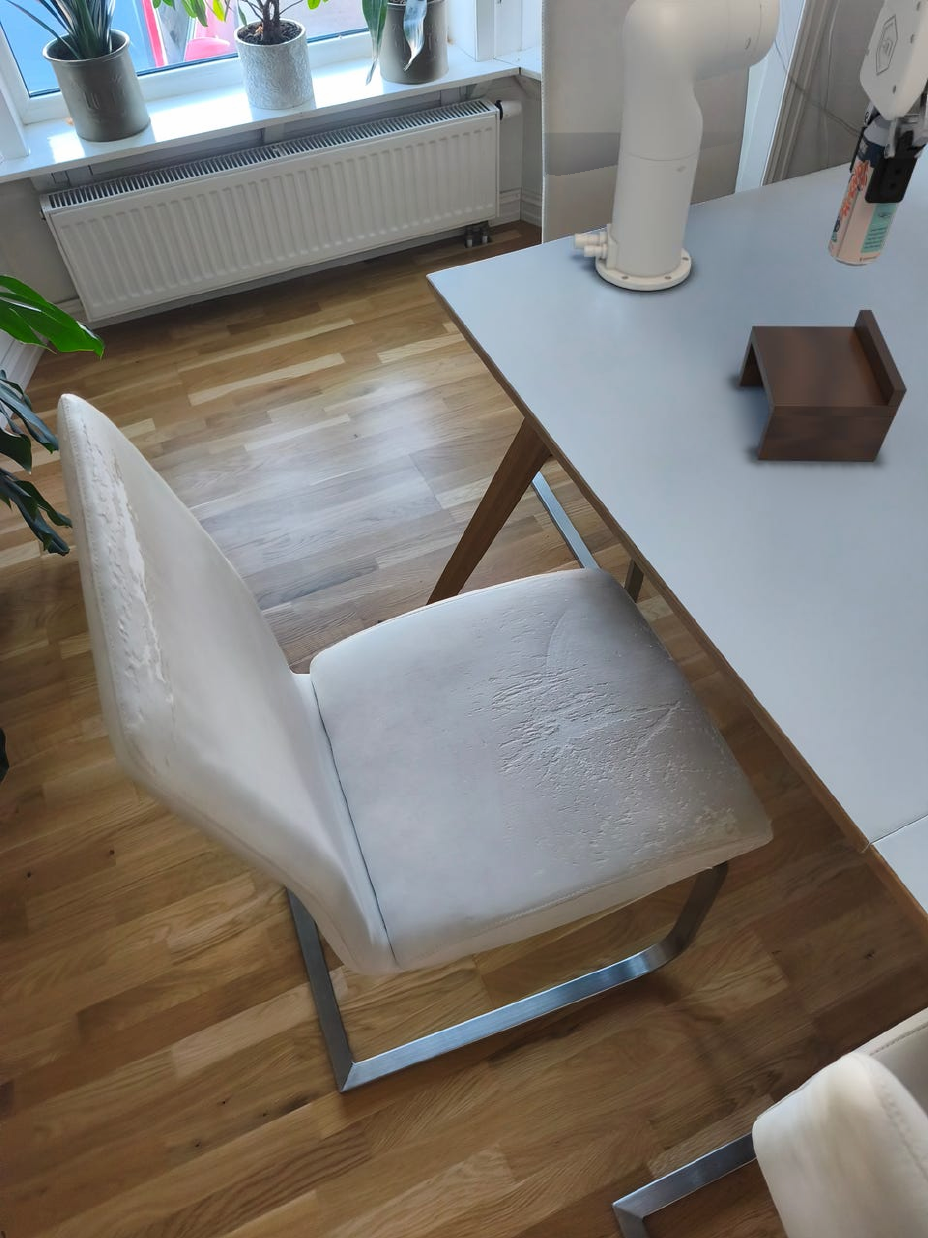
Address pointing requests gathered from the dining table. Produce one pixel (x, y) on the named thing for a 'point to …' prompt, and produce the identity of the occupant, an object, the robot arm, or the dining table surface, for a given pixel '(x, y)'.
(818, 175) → the dining table surface
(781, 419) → the shelf
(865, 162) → the beer can
